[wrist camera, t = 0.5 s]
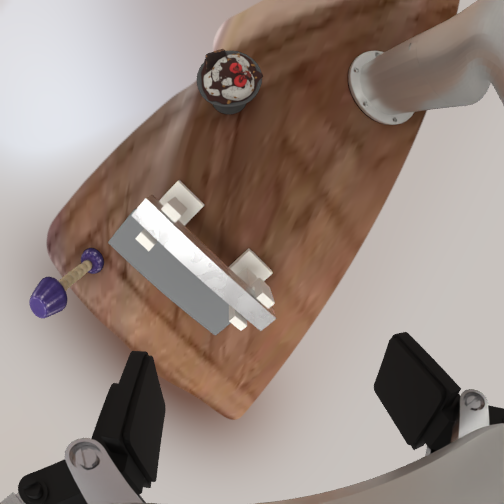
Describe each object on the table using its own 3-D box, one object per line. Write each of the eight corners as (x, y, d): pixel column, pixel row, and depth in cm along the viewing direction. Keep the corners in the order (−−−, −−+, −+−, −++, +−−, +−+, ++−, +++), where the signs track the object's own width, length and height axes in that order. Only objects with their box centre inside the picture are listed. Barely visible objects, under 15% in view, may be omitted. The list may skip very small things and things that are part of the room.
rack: (179, 180, 37) (159, 189, 26) (271, 270, 42) (285, 309, 31) (151, 210, 38) (123, 231, 27) (243, 295, 43) (247, 339, 32)
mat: (135, 208, 37) (134, 209, 37) (245, 308, 44) (245, 310, 44) (109, 241, 39) (108, 242, 38) (215, 333, 45) (215, 335, 45)
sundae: (254, 120, 35) (269, 97, 21) (205, 120, 34) (189, 98, 20) (254, 76, 33) (268, 33, 18) (205, 77, 32) (192, 34, 18)
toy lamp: (77, 249, 39) (18, 295, 23) (98, 240, 38) (39, 286, 23) (89, 275, 40) (37, 329, 24) (110, 267, 40) (59, 324, 24)
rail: (152, 194, 29) (145, 198, 26) (273, 307, 35) (276, 318, 32) (138, 210, 29) (131, 215, 27) (258, 319, 35) (260, 330, 33)
